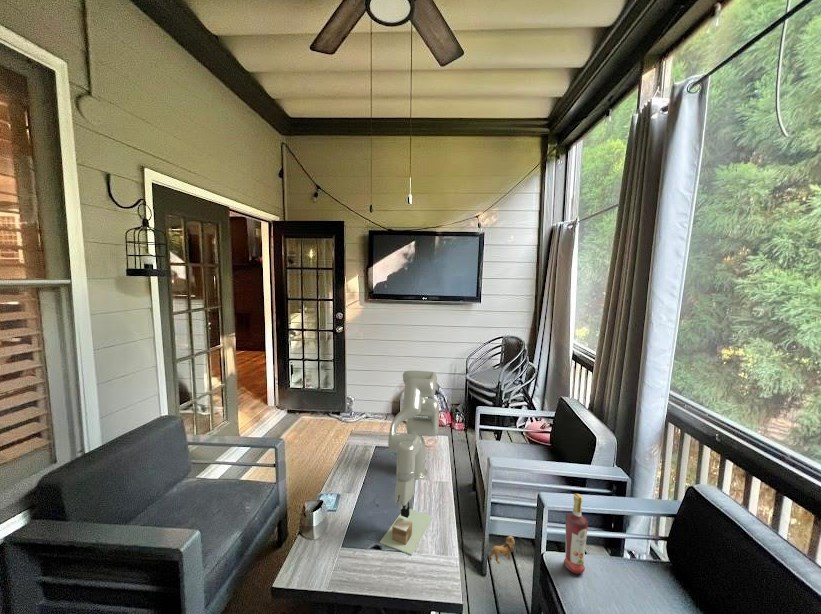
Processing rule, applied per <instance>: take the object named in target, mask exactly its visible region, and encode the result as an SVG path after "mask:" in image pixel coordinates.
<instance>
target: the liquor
mask: <svg viewBox="0 0 821 614" xmlns="http://www.w3.org/2000/svg"><path fill="white" fill-rule="evenodd" d="M582 502H583V496H582V495H581V494H580V493H574V494H573V509H572V512H568V513H567V514H565V559H564V560H563V563H564V566H565V567H566V568H567V569H568V570H569V571H570V572H571V573H573V574H577V575H578V574H581V573H584V572H585V570H586V567H585V564H584V563H585V552H586V545H587V537H588V535H587V534H588V529H589V528H588V527H589V521H588V520H587V519H586V517H584V516H583V515H582Z"/></svg>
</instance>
